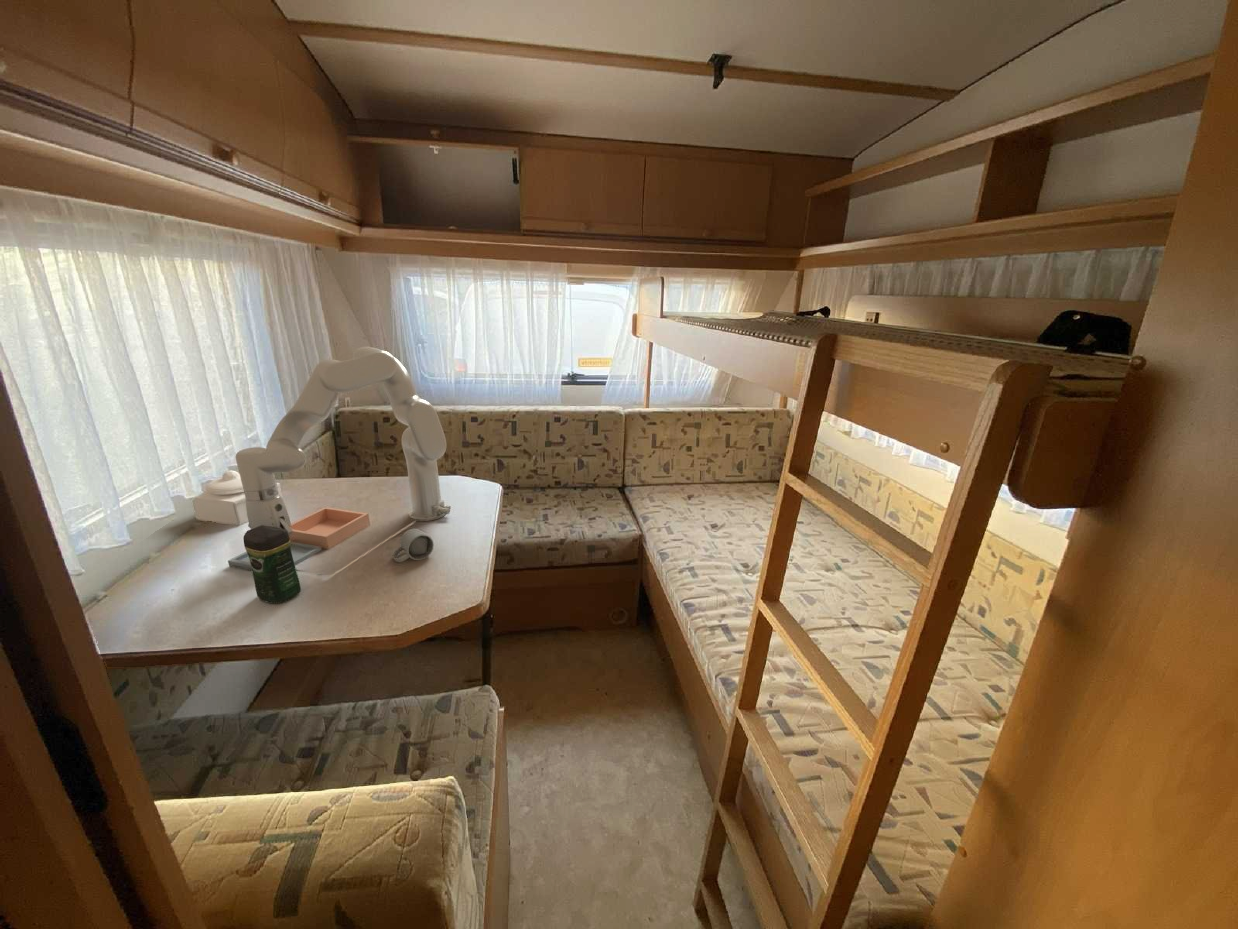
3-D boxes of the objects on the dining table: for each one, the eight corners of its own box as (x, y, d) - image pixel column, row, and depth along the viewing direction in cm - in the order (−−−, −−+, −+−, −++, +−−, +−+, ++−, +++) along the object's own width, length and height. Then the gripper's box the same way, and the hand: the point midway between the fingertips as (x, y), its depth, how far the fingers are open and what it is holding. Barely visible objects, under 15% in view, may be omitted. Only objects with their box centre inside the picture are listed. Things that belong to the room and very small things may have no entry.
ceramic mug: (424, 545, 154) (421, 522, 151) (435, 555, 148) (432, 532, 146) (388, 557, 147) (384, 533, 145) (399, 568, 142) (395, 543, 139)
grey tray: (322, 552, 148) (321, 546, 148) (280, 577, 136) (279, 570, 135) (274, 544, 153) (272, 538, 152) (229, 567, 140) (227, 560, 139)
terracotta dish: (370, 527, 164) (368, 513, 163) (329, 551, 149) (326, 536, 147) (327, 520, 169) (325, 507, 167) (283, 543, 153) (280, 529, 152)
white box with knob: (244, 500, 184) (234, 459, 178) (285, 505, 180) (276, 464, 175) (196, 520, 168) (183, 476, 162) (240, 526, 164) (229, 481, 159)
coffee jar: (307, 591, 130) (293, 526, 124) (277, 608, 123) (261, 540, 117) (282, 582, 133) (267, 519, 127) (251, 598, 126) (234, 532, 120)
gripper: (298, 491, 139) (310, 549, 145) (250, 484, 143) (264, 541, 149) (273, 501, 132) (287, 562, 138) (224, 493, 136) (240, 553, 142)
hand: (275, 550), depth 143 cm, fingers closed on ochre ball, 4 cm apart
